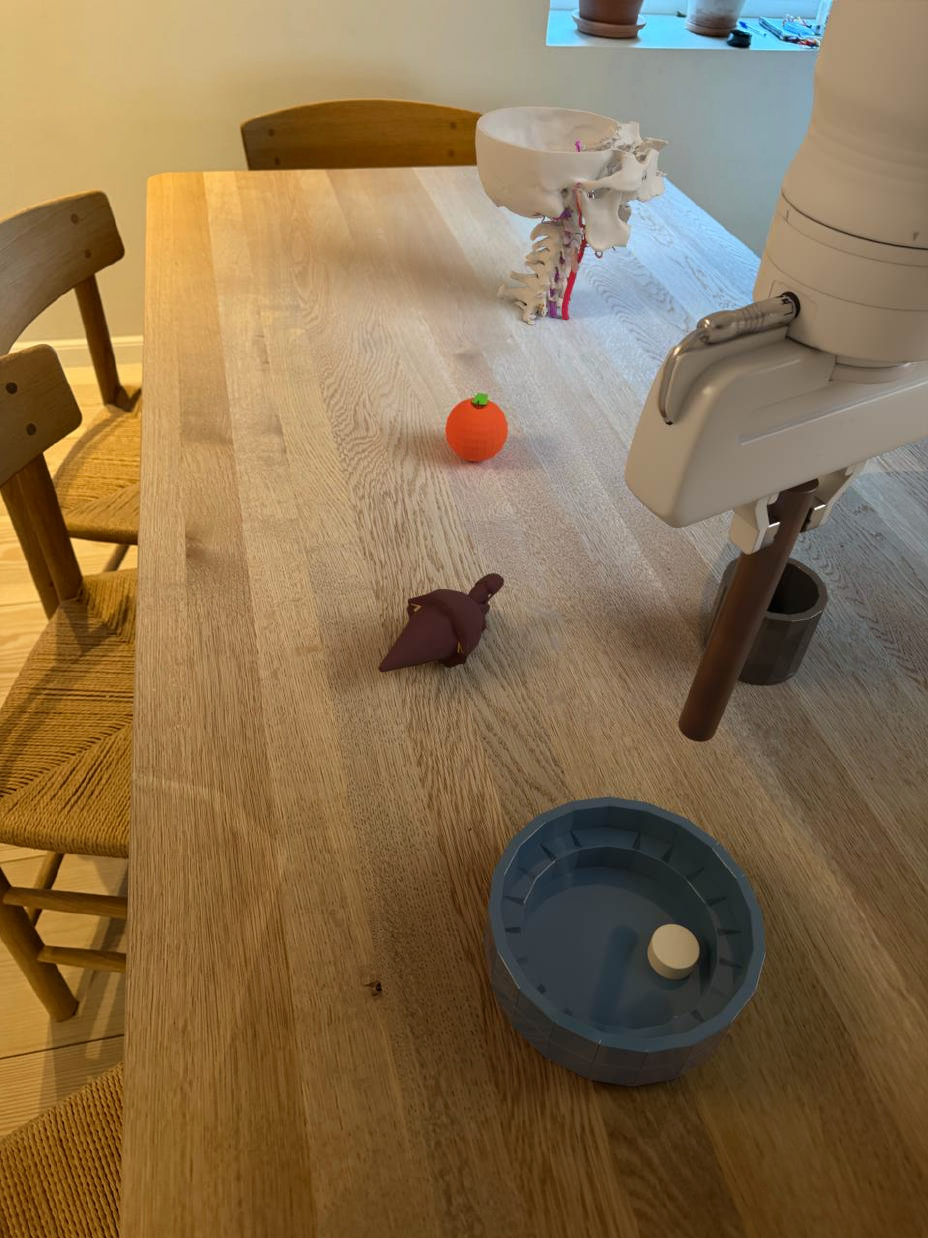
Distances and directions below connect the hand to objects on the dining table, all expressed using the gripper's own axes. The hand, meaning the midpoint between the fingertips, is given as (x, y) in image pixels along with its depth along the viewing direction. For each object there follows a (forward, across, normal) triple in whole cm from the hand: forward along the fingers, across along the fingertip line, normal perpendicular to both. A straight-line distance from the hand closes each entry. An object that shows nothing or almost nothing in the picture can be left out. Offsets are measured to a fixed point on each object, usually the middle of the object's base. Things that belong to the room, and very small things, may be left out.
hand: (775, 533), depth 50 cm
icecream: (+31, -4, +26) cm, 41 cm away
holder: (+31, +22, +13) cm, 40 cm away
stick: (+16, 0, +1) cm, 16 cm away
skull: (+31, +45, +79) cm, 96 cm away
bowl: (+31, -8, -4) cm, 32 cm away
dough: (+30, -5, -7) cm, 31 cm away
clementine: (+31, +15, +52) cm, 62 cm away
